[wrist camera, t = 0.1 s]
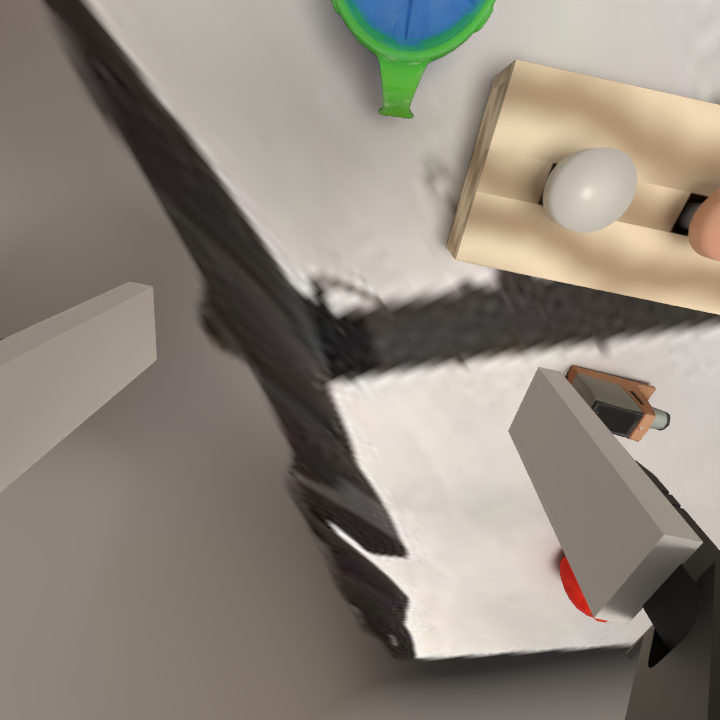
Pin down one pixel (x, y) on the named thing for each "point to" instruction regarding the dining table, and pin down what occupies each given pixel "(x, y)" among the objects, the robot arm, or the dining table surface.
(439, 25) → the snack cup
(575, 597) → the tomato
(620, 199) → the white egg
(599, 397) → the electronic device
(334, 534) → the dining table surface
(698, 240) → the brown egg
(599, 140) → the switch box
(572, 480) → the robot arm
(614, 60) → the dining table surface
